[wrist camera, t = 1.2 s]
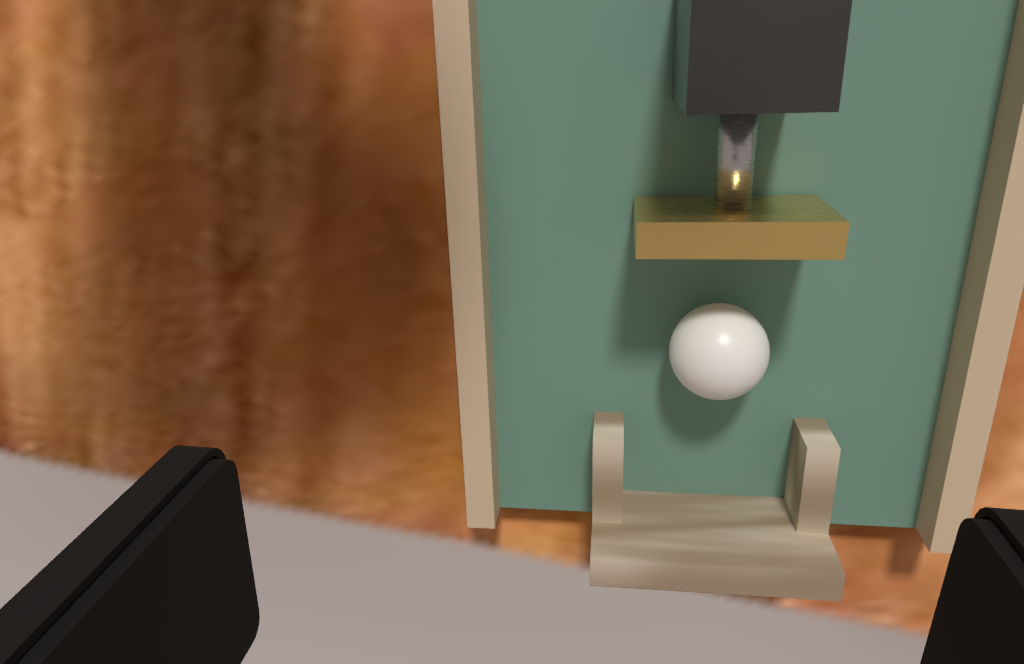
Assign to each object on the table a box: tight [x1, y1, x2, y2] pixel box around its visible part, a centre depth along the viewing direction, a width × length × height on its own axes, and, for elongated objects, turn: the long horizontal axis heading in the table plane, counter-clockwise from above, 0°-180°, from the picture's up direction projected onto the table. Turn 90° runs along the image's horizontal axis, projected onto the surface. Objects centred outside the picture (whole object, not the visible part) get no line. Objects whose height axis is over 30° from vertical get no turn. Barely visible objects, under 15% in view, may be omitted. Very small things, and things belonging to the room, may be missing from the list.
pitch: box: [432, 0, 1024, 553], centre depth 28 cm, size 22×20×3 cm
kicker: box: [633, 0, 852, 260], centre depth 23 cm, size 9×6×6 cm
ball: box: [669, 303, 770, 400], centre depth 27 cm, size 4×4×4 cm
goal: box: [590, 412, 846, 601], centre depth 29 cm, size 5×9×5 cm, turn 92°
